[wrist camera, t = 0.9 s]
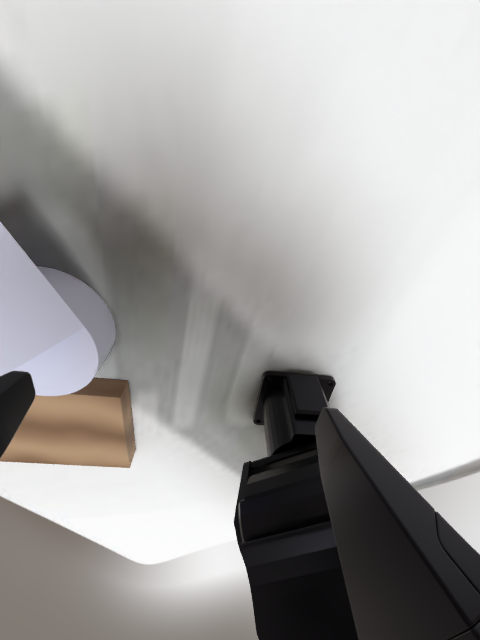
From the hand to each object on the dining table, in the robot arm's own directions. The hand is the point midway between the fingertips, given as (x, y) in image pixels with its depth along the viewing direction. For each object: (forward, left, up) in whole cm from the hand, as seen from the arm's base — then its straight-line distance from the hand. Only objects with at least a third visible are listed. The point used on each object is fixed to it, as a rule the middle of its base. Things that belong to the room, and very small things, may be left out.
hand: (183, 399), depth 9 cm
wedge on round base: (-4, +12, -13) cm, 18 cm away
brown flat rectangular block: (-17, +17, -12) cm, 26 cm away
